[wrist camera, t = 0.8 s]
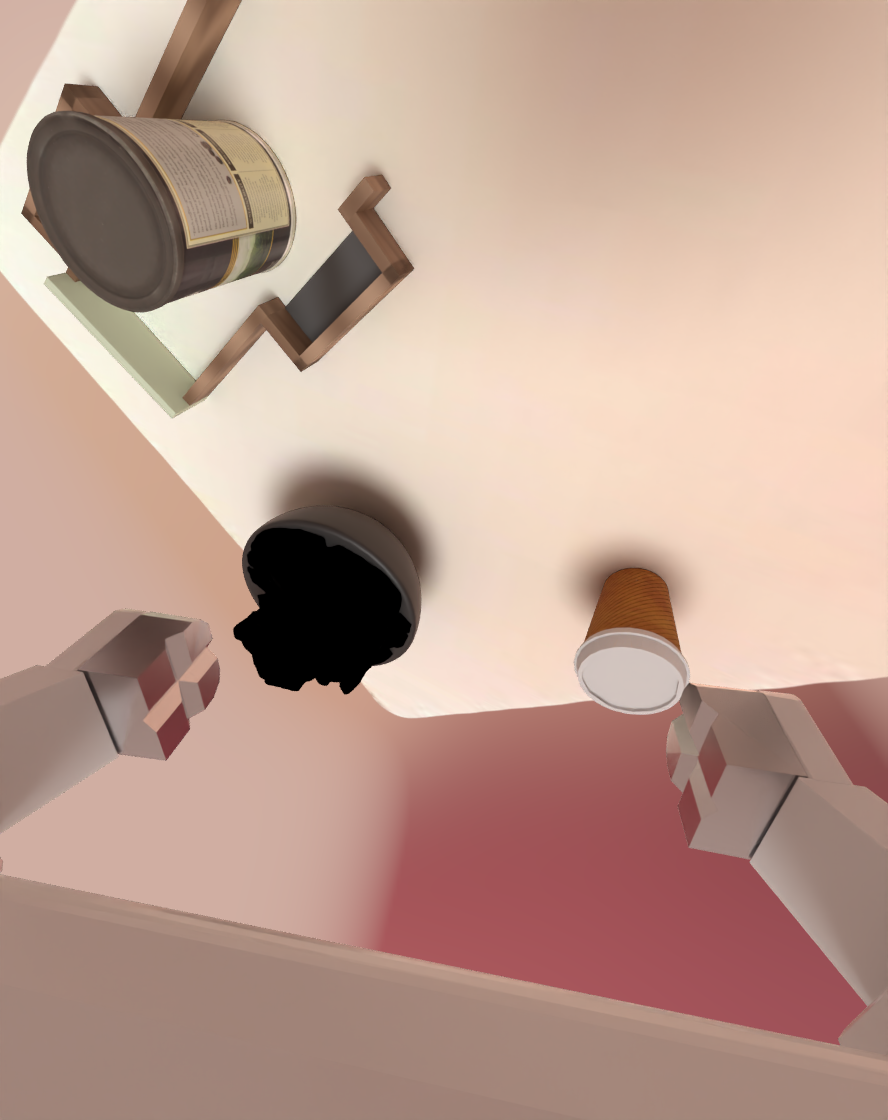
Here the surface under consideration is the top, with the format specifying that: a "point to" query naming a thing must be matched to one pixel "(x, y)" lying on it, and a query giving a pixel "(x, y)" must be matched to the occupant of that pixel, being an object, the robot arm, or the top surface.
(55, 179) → the coffee can
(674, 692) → the disposable coffee cup
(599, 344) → the top surface
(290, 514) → the coal bowl
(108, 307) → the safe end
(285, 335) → the trap lane
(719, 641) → the top surface
